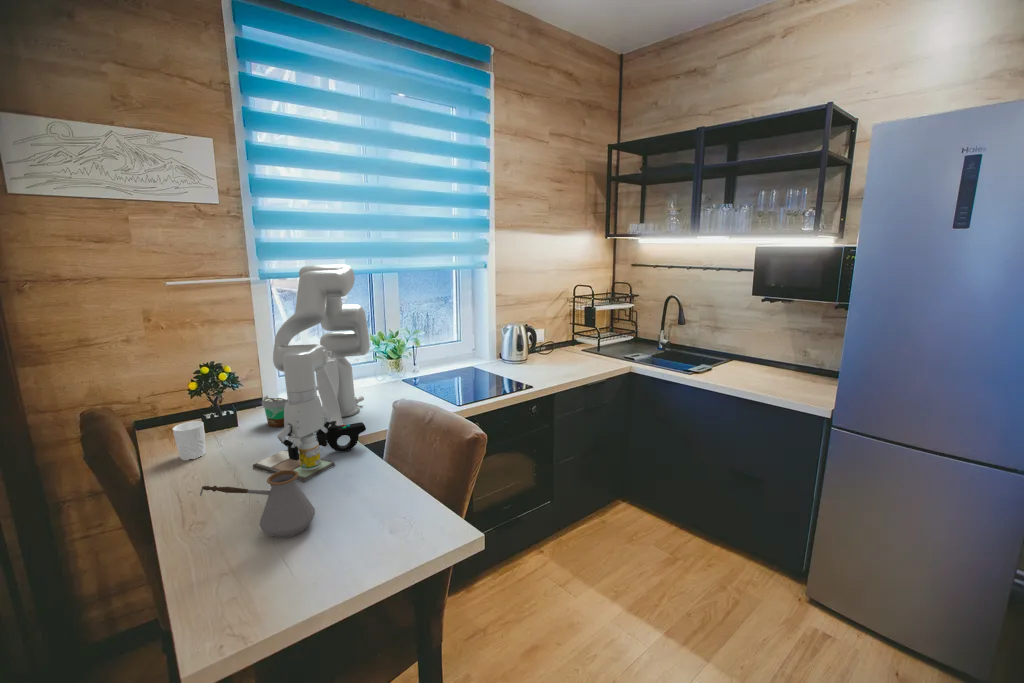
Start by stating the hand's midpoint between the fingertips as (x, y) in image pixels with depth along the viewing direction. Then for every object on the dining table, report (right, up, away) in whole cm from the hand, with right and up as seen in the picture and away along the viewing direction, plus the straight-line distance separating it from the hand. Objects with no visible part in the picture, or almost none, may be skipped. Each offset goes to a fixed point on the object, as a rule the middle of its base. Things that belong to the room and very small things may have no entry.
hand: (308, 452), depth 134 cm
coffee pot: (+2, -12, -28) cm, 31 cm away
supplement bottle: (0, -5, +1) cm, 5 cm away
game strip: (-6, -5, +4) cm, 9 cm away
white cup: (-42, -4, +13) cm, 44 cm away
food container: (-27, +1, +36) cm, 46 cm away
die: (-10, -2, +18) cm, 21 cm away
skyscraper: (-5, 0, +31) cm, 32 cm away
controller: (+6, -3, +15) cm, 16 cm away
